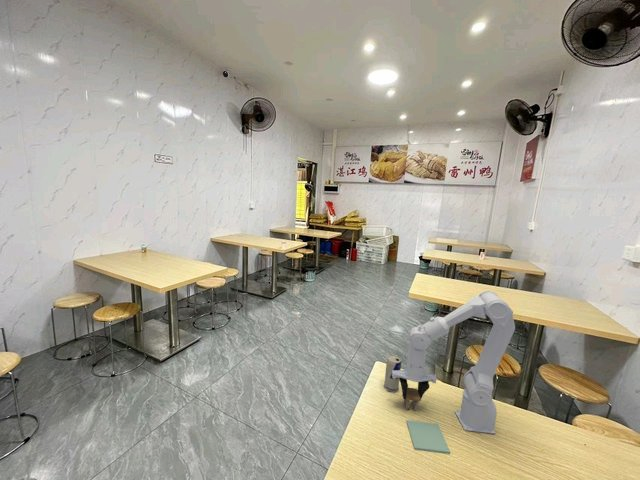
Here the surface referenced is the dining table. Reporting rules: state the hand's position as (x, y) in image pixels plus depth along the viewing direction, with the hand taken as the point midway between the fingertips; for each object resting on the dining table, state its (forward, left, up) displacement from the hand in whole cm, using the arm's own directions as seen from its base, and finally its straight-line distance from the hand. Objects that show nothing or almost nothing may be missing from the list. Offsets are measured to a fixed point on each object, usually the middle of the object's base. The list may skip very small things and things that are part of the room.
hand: (411, 398), depth 93 cm
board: (-2, +12, -3) cm, 13 cm away
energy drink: (+5, -9, -3) cm, 11 cm away
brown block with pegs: (0, 0, -3) cm, 3 cm away
